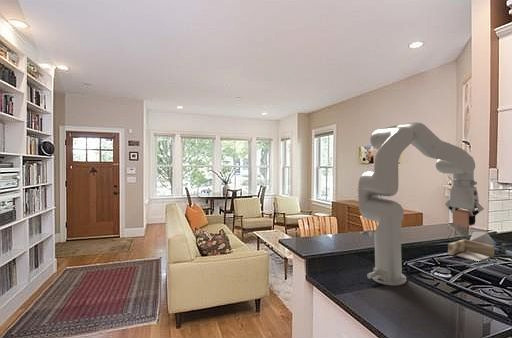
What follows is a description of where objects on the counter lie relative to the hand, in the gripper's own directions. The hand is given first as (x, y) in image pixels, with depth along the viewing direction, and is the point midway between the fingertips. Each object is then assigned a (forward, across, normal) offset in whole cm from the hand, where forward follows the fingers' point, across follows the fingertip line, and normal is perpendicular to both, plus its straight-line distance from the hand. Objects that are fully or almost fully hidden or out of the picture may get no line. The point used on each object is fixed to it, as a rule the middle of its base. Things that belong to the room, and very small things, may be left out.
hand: (463, 222), depth 131 cm
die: (+16, +1, -16) cm, 23 cm away
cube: (+1, 0, 0) cm, 1 cm away
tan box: (+16, -1, -3) cm, 16 cm away
